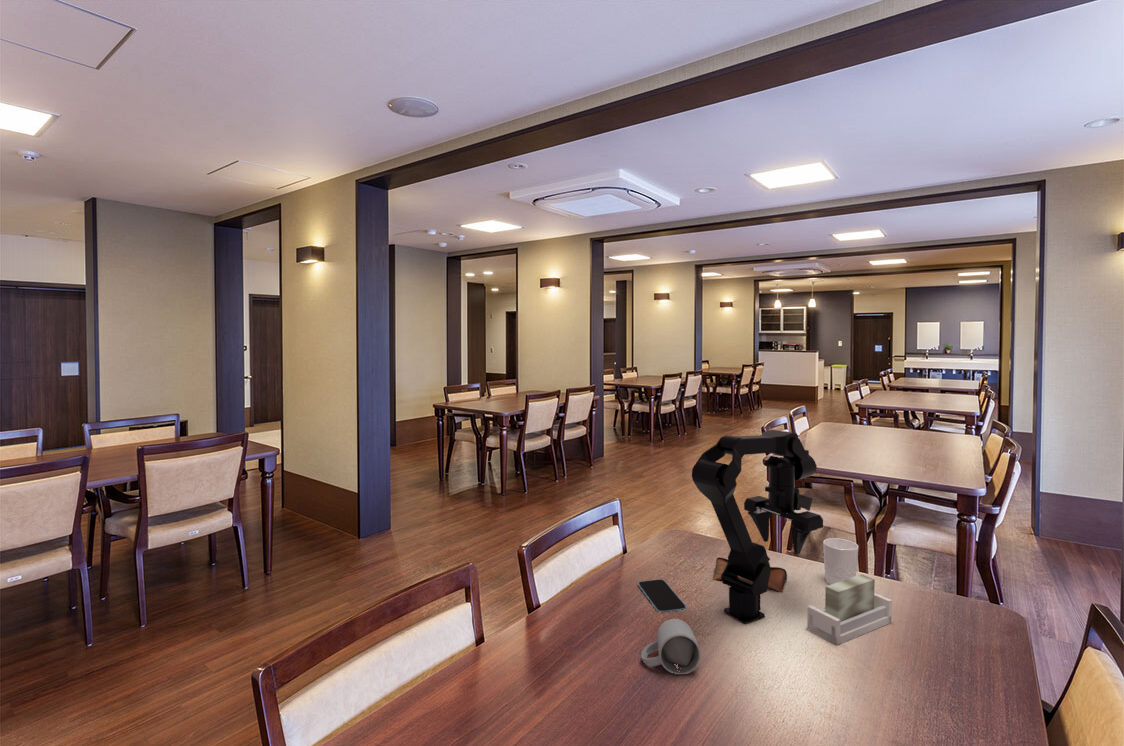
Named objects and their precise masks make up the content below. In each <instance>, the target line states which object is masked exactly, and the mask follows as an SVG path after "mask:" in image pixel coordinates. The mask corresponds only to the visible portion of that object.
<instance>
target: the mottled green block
mask: <svg viewBox="0 0 1124 746" xmlns="http://www.w3.org/2000/svg"><path fill="white" fill-rule="evenodd" d="M875 581H876V580H875V579H874V578H872V577H869V576H866V575H865V574H858V575H856V576H855V577H852V578H849V579H846V580H843V581H840V582H837V583H834V584H831V585H830V584H828V585H826V586H825V588H824V589H825V596H824V597H825V598H824V602H825V603H824V604H825V605H824V607H825V608H824V609H825V613H828V614H830V615H832V616H834V617H836V618H838V619H840V622H842V621H844V620H847V619H850V618H852V617H855V616H857V615H860V614H863V613H865V612H868V611H870V610H873V609H874V593H875V587H876V586H875V584H876V583H875Z"/></svg>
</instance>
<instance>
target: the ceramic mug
mask: <svg viewBox="0 0 1124 746" xmlns="http://www.w3.org/2000/svg"><path fill="white" fill-rule="evenodd" d="M656 650H658V655H657V656H653V657H649V658H648V656H649V655H650V654H652V653H653V652H654V651H656ZM640 655H641V660H642V661H643V664H644V663H645V664H646V665H647V666H646V665H645V664H644V665H645V666H646V667H651V668H653V667H656V666H660V665H662V668H664V669H665V670H666V671H667V672H669V673H671V674H673V673H674V674H673V675H676V674H685V675H688V674H690V673H692V672H694V671H695V669H696V668H697V667H698V665H699V663H700V660H701V650H700V646H699V644H698V641H697V639H696V637H695V634H694V631H693V630H692V628H691V627H690V626H689V625H688V624H687V623H686V622H685V621H684V620H681V619H679V618H669V619H667V620H665V621H663V622H662V623H661V624H660V625H659V627H658V630H657V634H656V640H655V641H653V642H651V643H649V644H647V645H646V646H645V647H644V648H643V649H642V651H641V654H640ZM674 664H676V665H677V664H678V667H679V668H678V669H677V668H676V666H675V665H674ZM680 668H681V669H680ZM677 670H678V671H677ZM679 671H680V672H679Z"/></svg>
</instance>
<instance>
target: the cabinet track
mask: <svg viewBox="0 0 1124 746" xmlns="http://www.w3.org/2000/svg"><path fill="white" fill-rule="evenodd" d="M892 605H893V601H892V599H890V598H888V597H885V596H883V595H880V594H878V593H876V592H874V609H873V610H870V611H868V612H865V613H863V614H860V615H857V616H855V617H852V618H850V619H847V620H844V621H842V622H840V619H838V618H836V617H834V616H832V615H830V614H828V613H825V608H823V609H819V608H817V607H815V606H814V605H812V604H810V605H807V607H806V608H807V613H806V614H807V615H806V618H807V621H806V622H807V623H806V629H807V630H808V631H810V632H811V633H814V634H816V635H818V636H819V637H820V638H824V640H827V641H828V642H831V643H833V644H834V645H836V646H838V645H841V644H844V643H845V642H848V641H850V640H852V639H855V638H857V637H860V636H862V635H865V634H867V633H869V632H872V631H874V630H876V629H880V628H882V627H883V626H887V625H889V624H891V623H892V611H893V610H892V609H893V607H892Z"/></svg>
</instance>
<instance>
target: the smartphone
mask: <svg viewBox="0 0 1124 746" xmlns="http://www.w3.org/2000/svg"><path fill="white" fill-rule="evenodd" d="M637 586H639V587H640V588H641V590H642V591H643V592H642V591H641V590H640V591H641V592H642V594H643V593H644V594H645V595H646V596H647V598H648V599H649V600H650V602H651V603H652V604H651V603H650V602H649V603H650V604H651V606H652V605H653V606H654V607H655V608H654V607H653V606H652V607H653V608H654V610H655V609H656V610H657V611H659V612H668V613H671V612H670V611H676V612H678V611H677V610H684V609H686V610H687V606H686V604H685V603H684V602H683V601H682V599H681V598H680V597H679V596H678V594H677V593H676V592H675V591H674V590H673V589H672V588H671V586H670V585H669V584H668V583H667V581H666V580H665V579H661V578H658V579H649V580H642V581H638V582H637ZM639 587H638V588H639ZM640 588H639V589H640ZM644 594H643V595H644ZM645 595H644V596H645ZM646 596H645V597H646ZM647 598H646V599H647ZM648 599H647V600H648ZM649 600H648V601H649ZM656 610H655V611H656ZM657 611H656V612H657ZM684 611H685V610H684ZM659 612H658V613H659Z"/></svg>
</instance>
